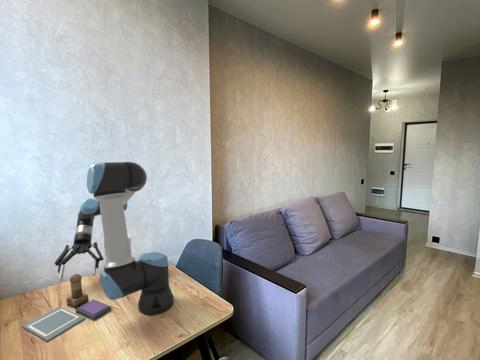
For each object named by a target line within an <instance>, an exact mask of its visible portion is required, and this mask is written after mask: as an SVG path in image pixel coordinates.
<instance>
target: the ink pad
mask: <svg viewBox="0 0 480 360" xmlns="http://www.w3.org/2000/svg"><path fill="white" fill-rule="evenodd" d="M108 311H109V312H110V311H112V306H111V305H109V304H107V303H104V302H101V301H99V300H95V299H92V300H89V302H87V303H85V304H83V305H81V306H80V307H78V308H76V309H75V314H78V315H80V316H82V317H84V318H87V319H89V320H91V321H93V322H94V321H97V319H99V318H100V317H102V316H103V314H104V315H106V314H107V313H108Z"/></svg>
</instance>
